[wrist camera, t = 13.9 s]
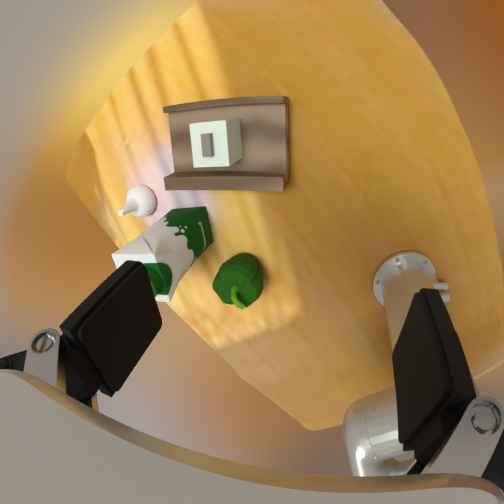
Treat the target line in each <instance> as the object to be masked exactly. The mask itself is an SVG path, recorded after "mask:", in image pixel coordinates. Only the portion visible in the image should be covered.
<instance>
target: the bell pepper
mask: <svg viewBox="0 0 504 504" xmlns="http://www.w3.org/2000/svg"><path fill="white" fill-rule="evenodd" d="M213 289H214V290H215V292H216V293H217V294H218V296H219V297H220V299H221V300H222V302H223V303H226V304H231V305H232V304H235V305H236V306H237V307H238V308H240V309H243V308H244V307H248V306H250V305H251V304H252V303H253V302H255V301H256V300H257V299H258V298H259V297H260V295H261V293H262V290H263V273H262V268H261V267H260V266H258V261H257V260H256V259H255V258H254V257H253V256H250V255H248V254H238V255H236V256H234V257H232V258H230V259H229V260H227V261H226V262H225V263H223V264H222V266H221V267H220V269H219V272H218V273H217V275H216V277H215V279H214V282H213Z"/></svg>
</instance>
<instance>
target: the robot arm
mask: <svg viewBox="0 0 504 504" xmlns="http://www.w3.org/2000/svg"><path fill="white" fill-rule="evenodd" d="M396 258H397V259H396ZM448 287H449V284H448V282H438V281H437V280H436V271H435V268H434V266H433V264H432V262H431V261H430V259H429V258H428V257H427V256H425V255H423V254H422V253H419V252H416V251H404V252H400V253H396V254H394V255H392V256H390V257H389V258H387V259H386V260H385V261H384V262H383V263H382V264H381V265H380V266H379V267H378V269H377V271H376V273H375V275H374V278H373V291H374V295H375V297H376V299H377V301H378V302H379V303H380V304H381V305H383V306H384V307H385V310H386V315H387V321H388V327H389V333H390V339H391V346H392V353H393V354H392V361H393V369H394V379H395V386H394V387H391V388H389V389H386V390H383V391H381V392H378V393H375V394H372V395H369V396H366V397H364V398H361V399H359V400H357V401H355V402H354V403H352V404H351V405H350V406H349V407H348V409H347V411H346V413H345V416H344V421H343V429H344V430H343V431H344V439H345V444H346V448H347V453H348V457H349V461H350V466H351V470H352V475H353V476H332V475H331V476H330V475H316V474H305V473H295V472H287V471H280V470H274V469H268V468H262V467H257V466H252V465H247V464H242V463H237V462H233V461H228V460H225V459H221V458H217V457H213V456H209V455H206V454H202V453H199V452H196V451H192V450H189V449H186V448H183V447H180V446H177V445H174V444H171V443H169V442H166V441H163V440H160V439H158V438H155V437H153V436H150V435H148V434H145V433H143V432H140V431H138V430H136V429H133V428H131V427H129V426H127V425H124V424H122V423H120V422H118V421H116V420H114V419H112V418H109V417H107V416H105V415H103V414H101V413H99V410H98V403H97V393H96V392H97V391H98V389H99V390H100V391H101V392H102V393H104V394H106V395H108V396H110V397H112V396H113V394H114V393H115V392H116V391H118V390H120V388H121V387H122V385H123V384H124V382H125V381H126V379H127V377H128V376H129V375H130V373H131V372H132V370H133V369H134V367H135V366H136V364H137V363H138V361H139V360H140V358H141V356H142V355H143V354H144V352H145V351H146V349H147V348H148V346H149V345H150V343H151V342H152V340H153V339H154V338H155V336H156V334H157V333H158V332H159V330H160V329H161V326H162V319H161V316H160V312H159V309H158V306H157V303H156V299H155V296H154V292H153V289H152V286H151V282H150V278H149V275H148V271H147V268H146V267H145V266H144V265H143V263H142V262H140V261H133V260H127V261H125V262H124V263H123V264H122V265H121V266H120V267H119V268H118V269H116V270H115V272H113V273H112V274H111V275H110V276H109V277H108V278H107V279H106V280H105V281H104V282H103V283H102V284H101V285H100V286H99V287H98V288H96V289H95V291H93V292H92V293H91V294H90V296H88V297H87V298H86V299H85V300H84V301H83V302H82V303H81V304H80V305H79V306H78V307H77V308H76V309H75V310H74V312H72V313H71V314H70V315H69V316H68V318H67V319H66V320H65V321H64V322H63V323H62V324H61V325H60V326H59V327H60V328H61V330H62V332H63V334H62V335H61V336H60V334H59V333H58V331H57V330H55V329H52V328H48V329H44V330H41V331H39V332H38V333H36V334H35V335H34V336H33V337H32V339H31V340H30V342H29V345H28V349H27V350H25V351H22V352H19V353H16V354H12V355H9V356H6V357H3V358H0V504H504V410H503V408H502V406H501V405H500V403H499V402H498V401H497V400H495V399H494V398H492V397H490V396H479V392H478V389H477V386H476V383H475V381H474V379H473V377H472V375H471V373H470V371H469V367H468V364H467V361H466V358H465V355H464V352H463V349H462V346H461V343H460V340H459V337H458V335H457V333H456V331H455V329H454V327H453V324H452V321H451V319H450V316H449V314H448V311H447V309H446V307H445V304H444V303H448V302H449V301H450V293H449V292H439V291H438V289H441V290H448ZM412 452H414V458H412V459H409V460H405V461H401V462H398V461H396V460H395V459H394V458H395V457H398V456H402V455H405V454H409V453H412Z"/></svg>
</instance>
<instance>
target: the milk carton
mask: <svg viewBox="0 0 504 504" xmlns="http://www.w3.org/2000/svg"><path fill="white" fill-rule="evenodd" d="M212 242H213V240H212V235H211V231H210V226H209V221H208V217H207V212H206V207H194V208H182V209H172V210H171V211H169V212H168V213H167V214H166V215H165V216H164V217H162V218H161V219H160V220H159V221H157V222H156V223H155V224H153V225H152V226H151V227H150V228H148V229H147V230H146V231H145V232H143V233H142V234H141V235H140V236H139V237H137V238H136V239H135V240H133V241H132V242H130V243H128V244H127V245H125V246H124V247H122V248H121V249H119V250H118V251H116V252H115V253H113V254H112V257H113V260H114V262H115V265H116V268H117V269H118V268H119V267H120V266H121V265H122V264H123V263H124V262H125V261H127V260H133V261H140V262H142V263H143V265H144V266H145V267H146V268H147V271H148V275H149V278H150V282H151V286H152V289H153V292H154V296H155V299H156V301H164V302H170V301H171V299H172V297H173V294H174V292H175V290H176V287H177V285H178V283H179V281H180V280H181V278H182V277H183V276H184V274H185V273H186V272H187V271H188V269H189V268H190V267H191V265H192V264H193V263H194V262H195V260H196V259H197V258H198V257H199V256H200V255H201V253H202V252H203V251H204V250H205V249H206V248H207V247H208V246H209V245H210V244H211V243H212Z"/></svg>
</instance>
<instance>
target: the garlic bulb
mask: <svg viewBox="0 0 504 504" xmlns="http://www.w3.org/2000/svg"><path fill="white" fill-rule="evenodd" d="M155 205H156V199H155V196H154V194H153V192H152V191H151V190H150V189H149V188H148V187H146V186H144V185H137V186H134V187H133V188H131V189H130V190H129V192H128V193H127V196H126V205H125V206H124V207H123V208H122V209H121V210H119V211H118V214H119V215H120V216H123V215H124V214H127V213H131V214H133V215H134V216H136V217H146V216H148V215H150V214H151V213H152V212H153V210H154V209H155Z"/></svg>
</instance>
